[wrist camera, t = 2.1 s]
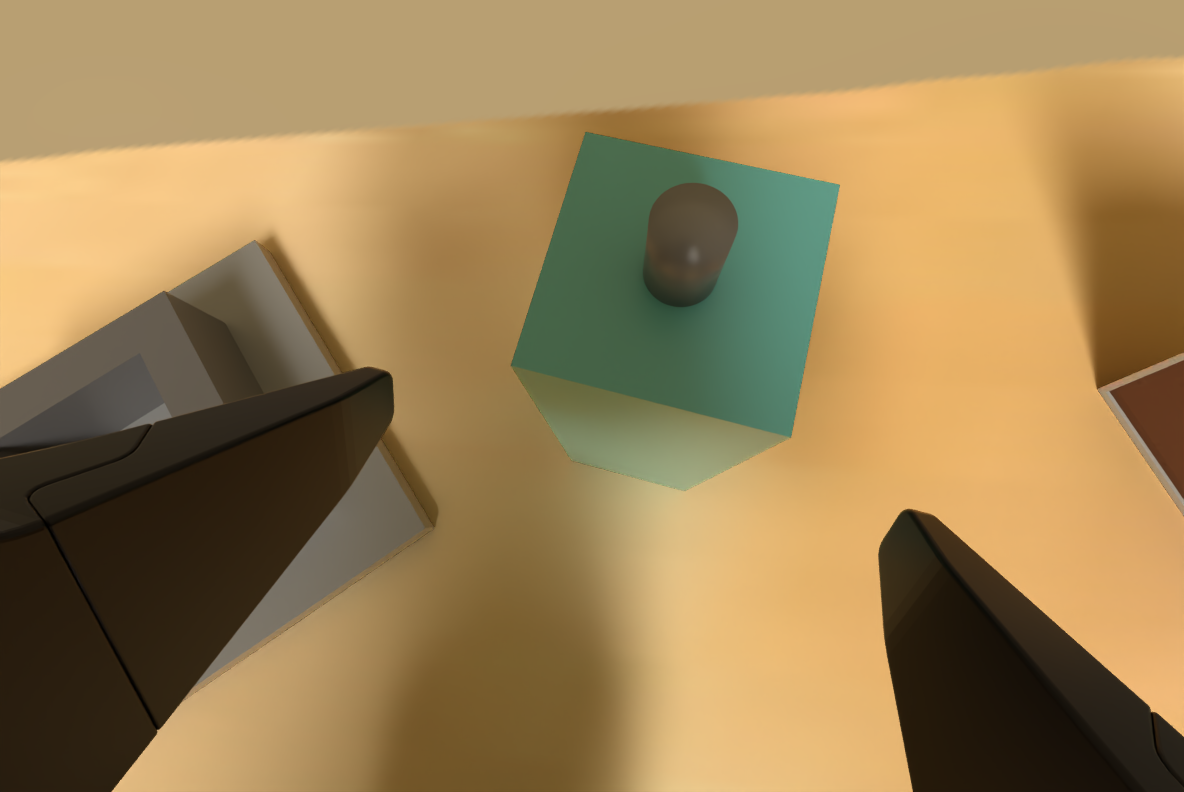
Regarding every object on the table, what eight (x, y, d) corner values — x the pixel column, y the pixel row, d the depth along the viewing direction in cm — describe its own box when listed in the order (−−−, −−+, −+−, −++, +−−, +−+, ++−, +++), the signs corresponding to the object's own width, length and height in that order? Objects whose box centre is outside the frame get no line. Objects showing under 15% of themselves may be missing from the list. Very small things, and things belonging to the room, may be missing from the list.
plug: (684, 491, 20) (829, 418, 7) (571, 460, 21) (489, 332, 7) (710, 381, 21) (883, 118, 8) (601, 354, 22) (580, 60, 8)
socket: (434, 528, 20) (391, 528, 16) (91, 764, 19) (-45, 825, 15) (269, 252, 23) (200, 196, 19) (-37, 437, 22) (-178, 417, 18)
